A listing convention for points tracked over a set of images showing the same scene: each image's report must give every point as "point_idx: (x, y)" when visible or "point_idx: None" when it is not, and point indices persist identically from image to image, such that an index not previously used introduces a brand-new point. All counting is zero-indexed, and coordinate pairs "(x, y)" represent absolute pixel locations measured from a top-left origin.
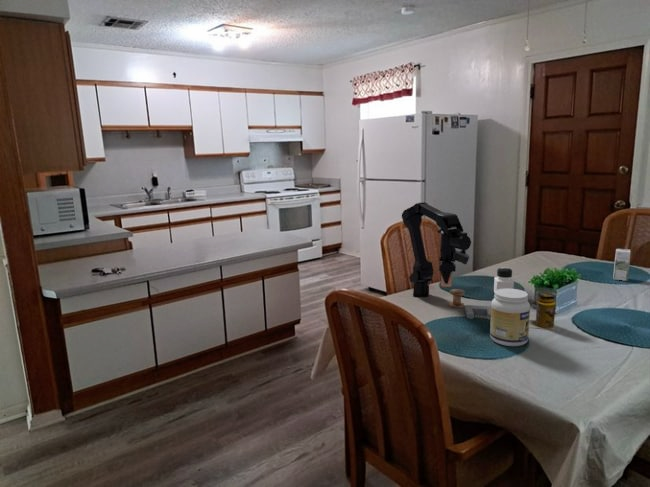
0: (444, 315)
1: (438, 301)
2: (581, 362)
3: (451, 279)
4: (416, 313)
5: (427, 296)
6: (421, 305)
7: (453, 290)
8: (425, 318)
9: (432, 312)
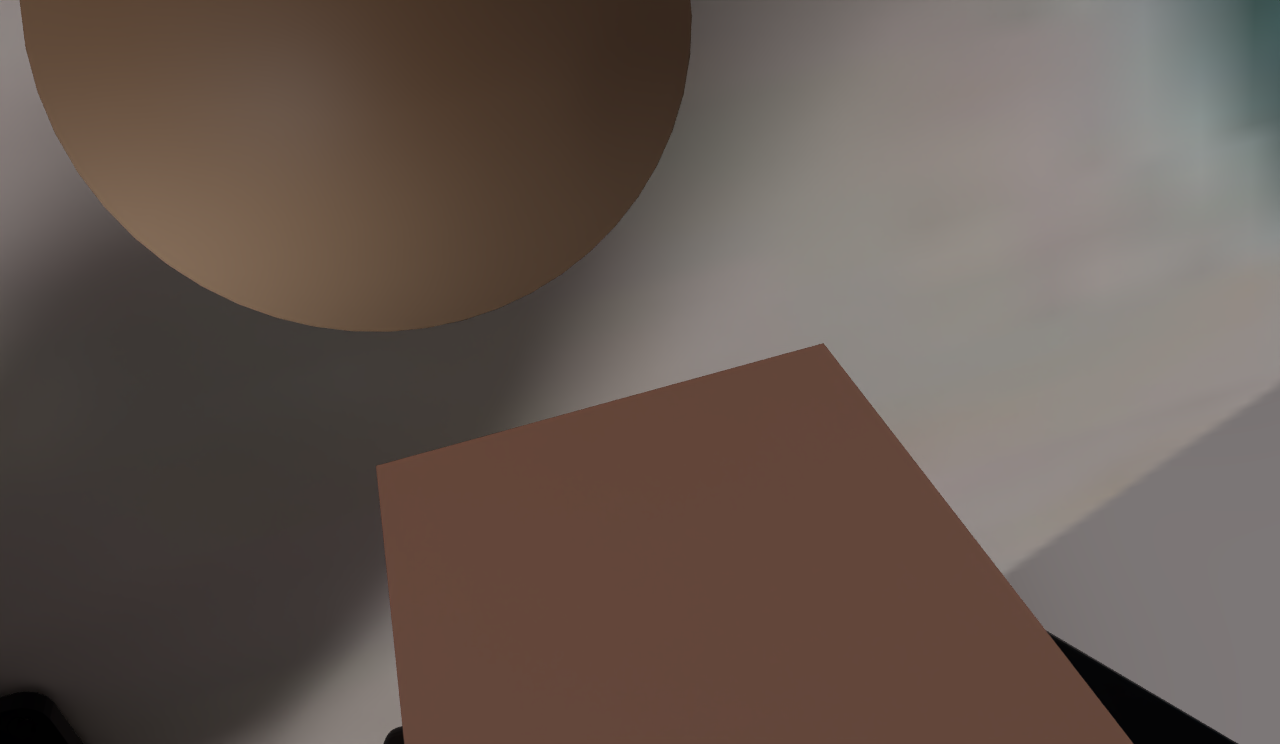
0: (1097, 80)
1: (214, 420)
2: None
3: (1009, 586)
4: (1035, 541)
5: (35, 698)
6: None
7: (331, 215)
8: (1253, 356)
9: (955, 337)
